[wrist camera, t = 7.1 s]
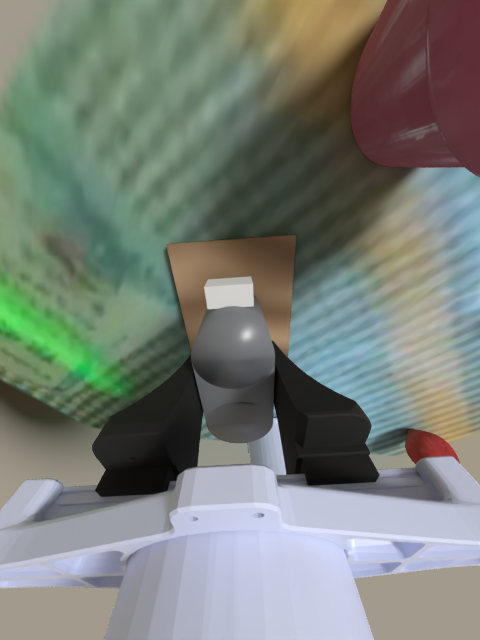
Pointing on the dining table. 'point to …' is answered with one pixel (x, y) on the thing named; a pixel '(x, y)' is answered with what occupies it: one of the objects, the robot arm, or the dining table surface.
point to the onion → (426, 446)
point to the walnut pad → (237, 261)
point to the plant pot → (420, 86)
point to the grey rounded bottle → (234, 362)
